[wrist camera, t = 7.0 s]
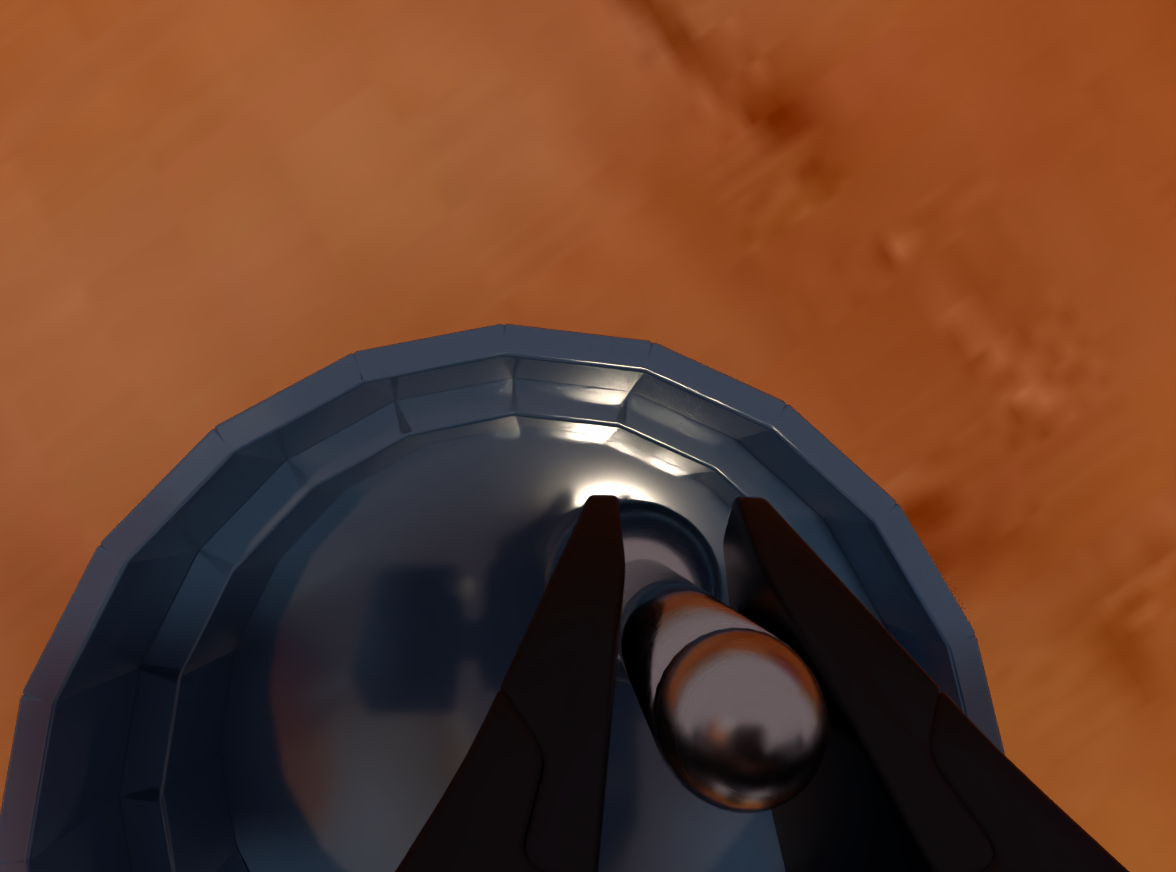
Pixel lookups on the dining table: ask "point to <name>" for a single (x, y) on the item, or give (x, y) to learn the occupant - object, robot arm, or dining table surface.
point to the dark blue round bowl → (412, 607)
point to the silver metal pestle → (710, 671)
